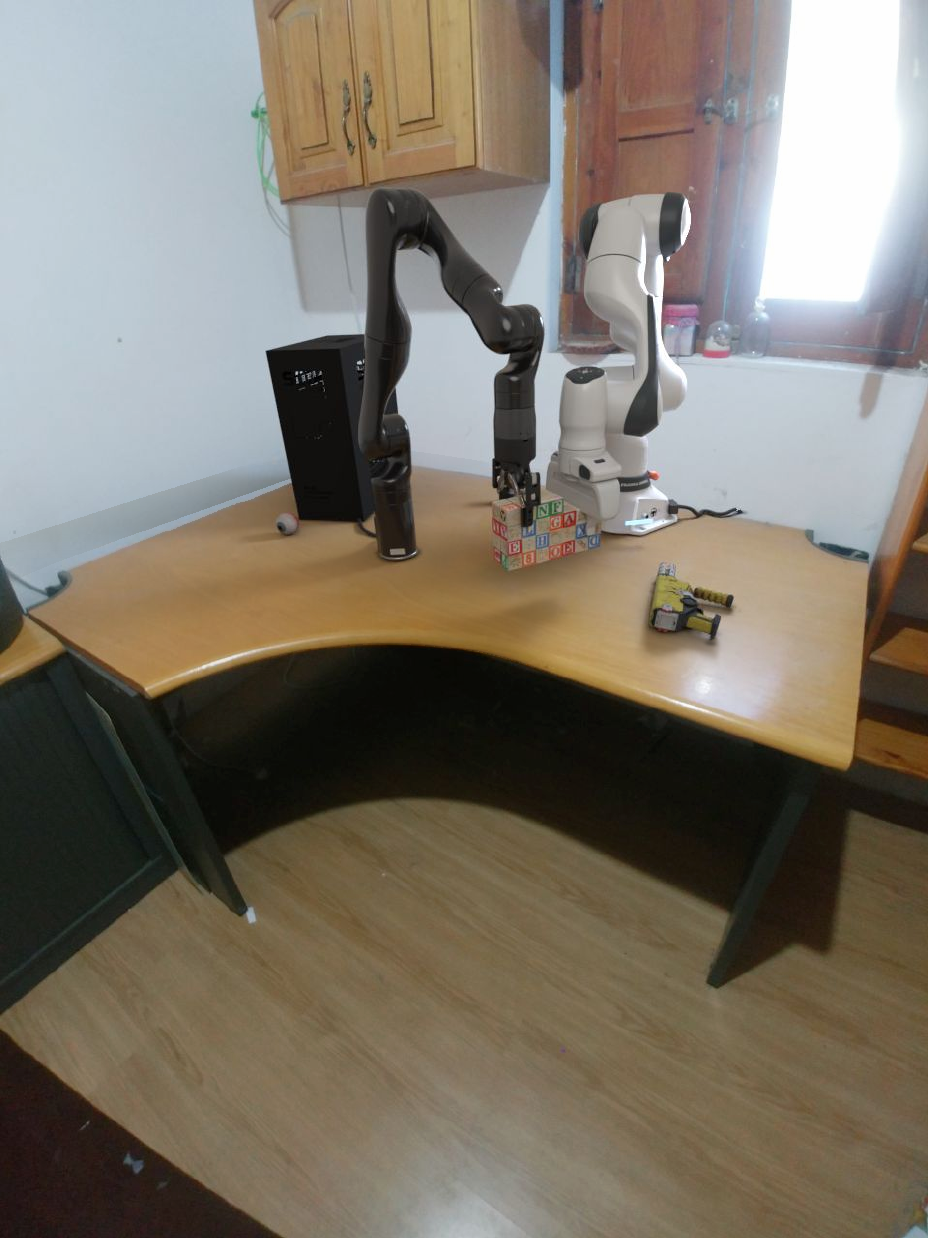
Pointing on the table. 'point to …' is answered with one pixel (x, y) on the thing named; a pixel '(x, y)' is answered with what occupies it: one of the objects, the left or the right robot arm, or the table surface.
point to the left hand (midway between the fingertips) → (515, 519)
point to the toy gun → (683, 604)
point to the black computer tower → (324, 425)
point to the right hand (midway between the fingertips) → (578, 528)
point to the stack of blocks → (539, 531)
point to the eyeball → (287, 523)
